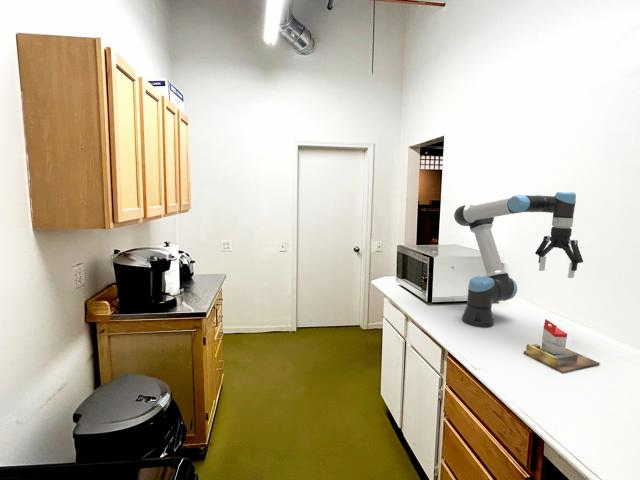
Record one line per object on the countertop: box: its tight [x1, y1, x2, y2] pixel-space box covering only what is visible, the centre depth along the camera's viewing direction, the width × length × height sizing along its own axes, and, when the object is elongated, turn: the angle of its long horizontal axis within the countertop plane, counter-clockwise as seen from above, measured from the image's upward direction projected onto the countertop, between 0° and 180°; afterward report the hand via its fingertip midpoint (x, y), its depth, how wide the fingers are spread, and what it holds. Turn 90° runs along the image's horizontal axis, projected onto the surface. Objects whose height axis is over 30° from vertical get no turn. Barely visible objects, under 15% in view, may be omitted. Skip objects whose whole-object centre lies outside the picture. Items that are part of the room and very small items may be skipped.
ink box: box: [540, 318, 568, 356], centre depth 145 cm, size 8×5×15 cm, turn 176°
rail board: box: [523, 343, 601, 374], centre depth 146 cm, size 17×21×4 cm
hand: (555, 274), depth 159 cm, fingers open, 13 cm apart
